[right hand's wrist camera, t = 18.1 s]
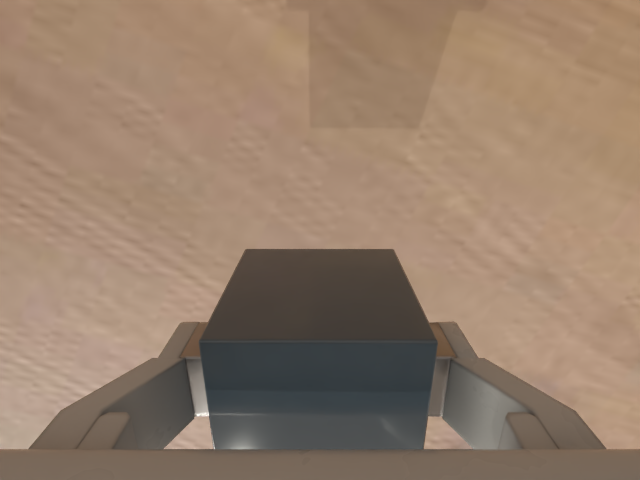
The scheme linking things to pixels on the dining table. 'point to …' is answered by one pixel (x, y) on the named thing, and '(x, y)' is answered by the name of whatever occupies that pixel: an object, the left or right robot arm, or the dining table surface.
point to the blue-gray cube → (318, 353)
